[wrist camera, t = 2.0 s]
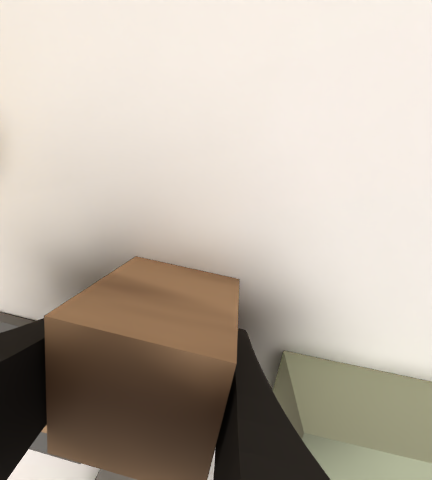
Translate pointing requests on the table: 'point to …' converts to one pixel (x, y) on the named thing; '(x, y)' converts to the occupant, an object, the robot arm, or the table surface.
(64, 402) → the walnut block
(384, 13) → the table surface
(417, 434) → the sage block
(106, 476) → the light gray cube
